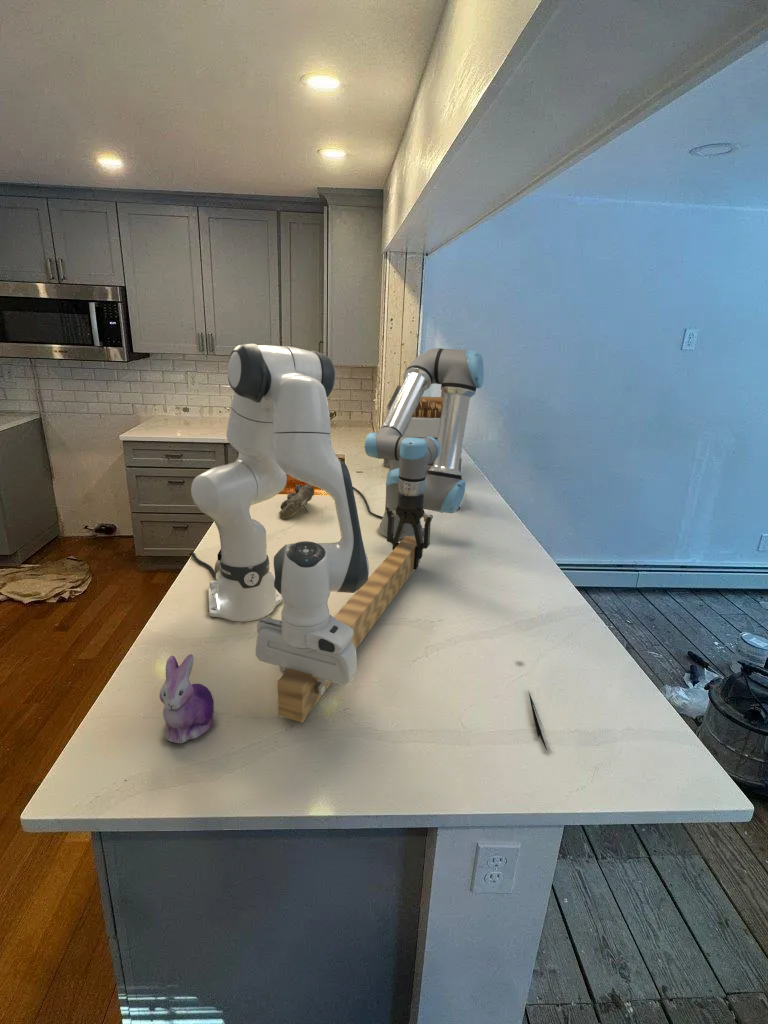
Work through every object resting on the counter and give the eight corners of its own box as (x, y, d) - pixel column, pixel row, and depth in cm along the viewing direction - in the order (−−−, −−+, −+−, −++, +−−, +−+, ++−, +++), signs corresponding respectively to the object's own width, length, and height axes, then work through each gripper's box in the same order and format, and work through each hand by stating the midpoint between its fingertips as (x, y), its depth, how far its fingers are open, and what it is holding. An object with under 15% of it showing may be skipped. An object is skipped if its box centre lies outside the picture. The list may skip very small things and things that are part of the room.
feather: (520, 667, 129) (525, 661, 129) (546, 754, 103) (553, 747, 102) (514, 663, 129) (519, 657, 129) (538, 750, 103) (545, 742, 102)
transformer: (382, 463, 289) (386, 382, 275) (445, 464, 293) (451, 384, 279) (390, 482, 257) (394, 392, 243) (460, 483, 261) (468, 394, 247)
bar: (404, 558, 176) (405, 535, 173) (420, 561, 175) (421, 538, 172) (278, 715, 107) (277, 681, 105) (302, 722, 106) (302, 687, 103)
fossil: (284, 490, 227) (312, 470, 222) (299, 508, 230) (327, 488, 225) (269, 514, 207) (299, 492, 202) (286, 533, 210) (316, 512, 205)
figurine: (167, 753, 99) (159, 681, 94) (159, 717, 107) (151, 649, 102) (222, 737, 103) (217, 667, 98) (210, 703, 111) (205, 637, 106)
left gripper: (247, 623, 106) (250, 683, 111) (348, 649, 100) (345, 712, 105) (265, 607, 112) (266, 666, 117) (361, 631, 106) (358, 692, 111)
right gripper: (376, 491, 161) (373, 565, 169) (438, 501, 156) (432, 576, 164) (385, 484, 168) (382, 555, 176) (445, 493, 163) (439, 566, 171)
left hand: (305, 688), depth 111 cm, fingers closed on bar, 5 cm apart
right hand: (406, 565), depth 170 cm, fingers closed on bar, 5 cm apart
